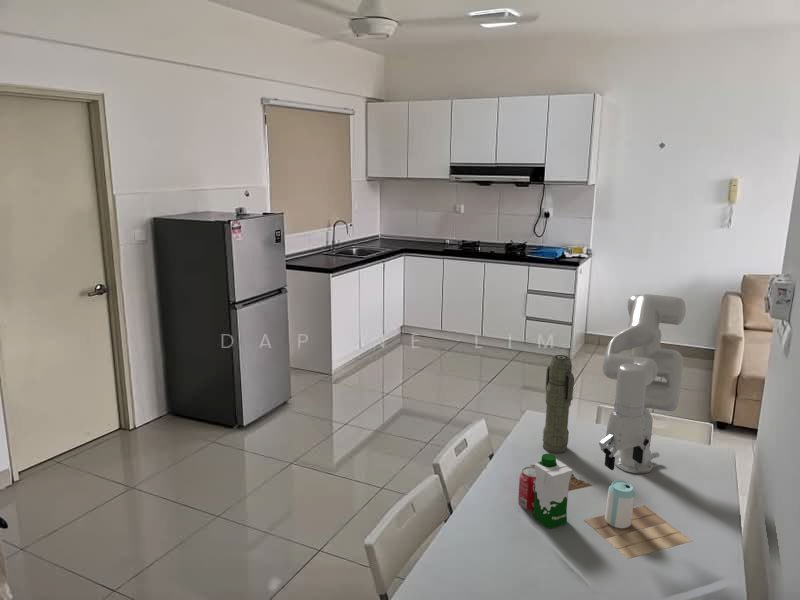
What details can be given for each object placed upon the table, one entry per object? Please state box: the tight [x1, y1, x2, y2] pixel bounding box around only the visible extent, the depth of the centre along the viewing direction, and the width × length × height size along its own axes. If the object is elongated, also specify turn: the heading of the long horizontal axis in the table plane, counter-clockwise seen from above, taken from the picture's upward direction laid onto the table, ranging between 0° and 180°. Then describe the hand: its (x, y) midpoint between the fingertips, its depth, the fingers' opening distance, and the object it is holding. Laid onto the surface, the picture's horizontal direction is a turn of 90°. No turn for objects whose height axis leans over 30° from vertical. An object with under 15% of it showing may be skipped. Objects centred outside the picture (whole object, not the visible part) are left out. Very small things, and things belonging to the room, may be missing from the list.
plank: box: [583, 505, 667, 539], centre depth 176 cm, size 22×9×1 cm, turn 111°
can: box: [604, 479, 636, 529], centre depth 173 cm, size 7×7×12 cm
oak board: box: [605, 522, 693, 560], centre depth 168 cm, size 22×9×1 cm, turn 111°
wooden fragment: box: [530, 464, 594, 492], centre depth 200 cm, size 26×11×1 cm, turn 34°
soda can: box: [517, 466, 536, 511], centre depth 183 cm, size 7×7×12 cm
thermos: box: [542, 354, 575, 454], centre depth 218 cm, size 9×12×35 cm
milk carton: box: [532, 453, 574, 530], centre depth 175 cm, size 9×9×20 cm
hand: (623, 464), depth 171 cm, fingers open, 9 cm apart
